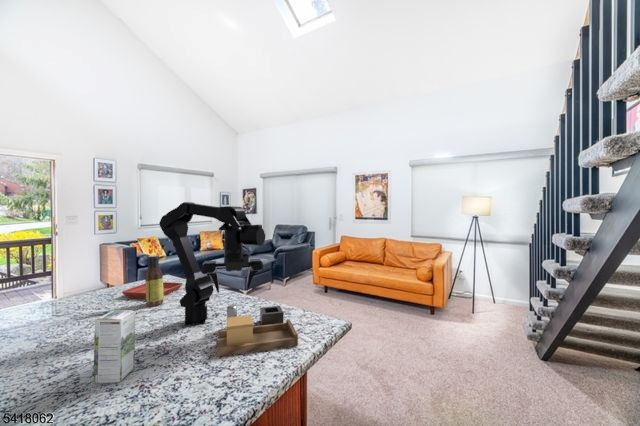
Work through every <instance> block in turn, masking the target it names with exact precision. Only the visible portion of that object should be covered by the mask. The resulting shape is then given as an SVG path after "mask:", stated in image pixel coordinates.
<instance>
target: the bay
mask: <svg viewBox="0 0 640 426" xmlns="http://www.w3.org/2000/svg"><path fill="white" fill-rule="evenodd" d="M217 334H218V335H217V347H216V358H219V357H225V356H226V357H227V356H234V355H239V354H245V353H254V352H260V351H265V350H267V351H268V350H273V349H280V348H287V347H288V348H289V347H293V346H298V345H299V335H298V333H297V331H296V329H295V327H294V325H293V323H292V321H291V319H290V318H289V319H286V322H283V323H279V324H270V325H262V326H261V325H253V343H247V344H240V345H233V346H227V330H226V329H221V330H220V329H219V330H218V331H217Z"/></svg>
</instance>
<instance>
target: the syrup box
mask: <svg viewBox="0 0 640 426" xmlns="http://www.w3.org/2000/svg"><path fill="white" fill-rule="evenodd" d="M136 314H137V313H136V310H129V309H119V310H117V309H115V310H110V311H109V312H108V313H105V314H103V315H101V316H100V317H97V318H96V319H94V339H93V340H94V341H93V347H94V348H93V382H92V383H93V384H111V383H112V384H114V383H121V382H122V381H123V380H125V378H126V377H127V376H129V374H130V373H131V372H132V371H133V370H135V363H136V362H135V357H136V356H135V354H136V350H135V349H136V318H137V317H136Z"/></svg>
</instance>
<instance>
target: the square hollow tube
mask: <svg viewBox="0 0 640 426" xmlns="http://www.w3.org/2000/svg"><path fill="white" fill-rule="evenodd" d="M259 311H260V312H259V321H260V326H262V325H270V324H279V323H284V311H283V309H282V307H281V305H273V306H264V307H259Z"/></svg>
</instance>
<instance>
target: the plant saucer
mask: <svg viewBox="0 0 640 426" xmlns="http://www.w3.org/2000/svg"><path fill="white" fill-rule="evenodd" d="M183 284H184V283H183V282H166V281H163V294H164V297H165V296H168V295H169V293H170V294H171V292H172V293H174V292H175V291H178V290H179V289H180V288H182V286H183ZM173 291H174V292H173ZM121 293H122V295H124V296H125V297H127V298H129V297H135V299H137V298H138V299H146V287H145V283H142V284H139V285H136V286H134V287H131V288H128V289H125V290H122V291H121Z"/></svg>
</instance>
